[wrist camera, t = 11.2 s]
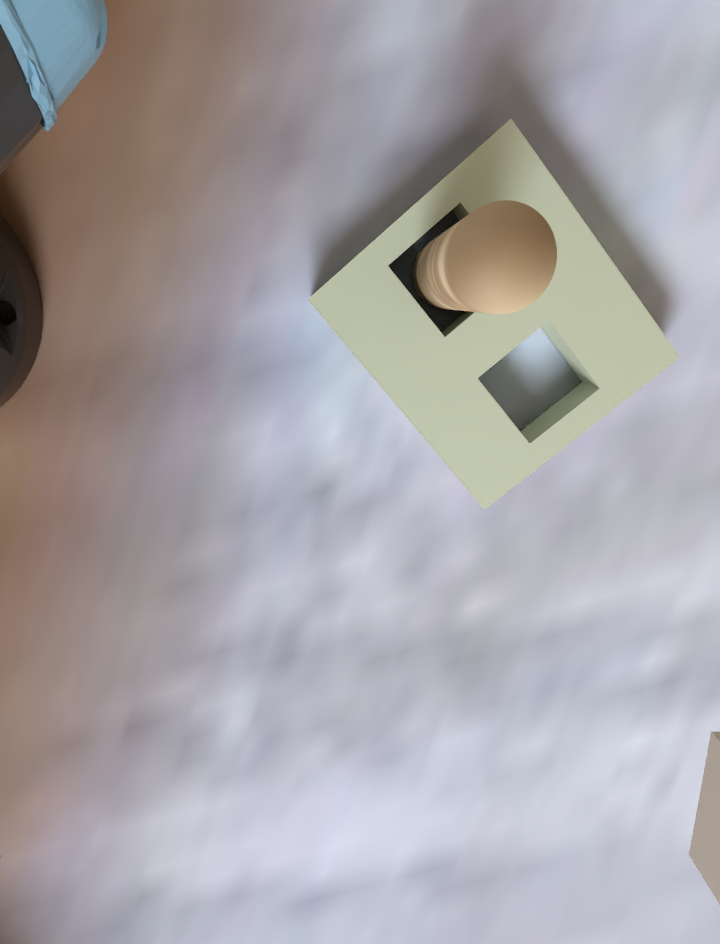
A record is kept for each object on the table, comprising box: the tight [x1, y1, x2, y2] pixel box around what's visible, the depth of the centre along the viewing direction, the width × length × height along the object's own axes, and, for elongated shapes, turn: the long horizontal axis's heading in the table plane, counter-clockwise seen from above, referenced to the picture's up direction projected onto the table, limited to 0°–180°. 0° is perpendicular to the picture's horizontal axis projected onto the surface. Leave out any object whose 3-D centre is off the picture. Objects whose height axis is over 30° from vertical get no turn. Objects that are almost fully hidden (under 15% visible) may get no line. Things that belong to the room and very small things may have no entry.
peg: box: [412, 200, 557, 314], centre depth 31 cm, size 4×4×15 cm
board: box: [308, 119, 680, 510], centre depth 38 cm, size 16×14×3 cm
